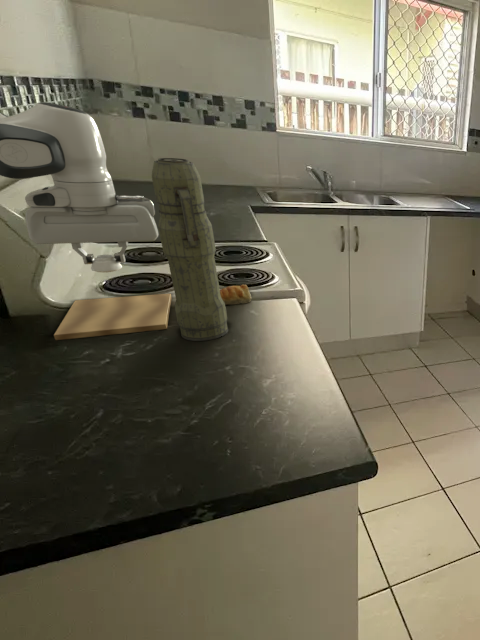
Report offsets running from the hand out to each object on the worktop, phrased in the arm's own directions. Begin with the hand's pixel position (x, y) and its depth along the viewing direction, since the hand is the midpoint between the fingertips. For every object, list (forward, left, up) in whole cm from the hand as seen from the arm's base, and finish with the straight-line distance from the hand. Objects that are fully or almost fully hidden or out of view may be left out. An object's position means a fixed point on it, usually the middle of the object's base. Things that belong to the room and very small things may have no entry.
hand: (105, 262), depth 99 cm
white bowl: (0, 0, -2) cm, 2 cm away
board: (0, 0, -12) cm, 12 cm away
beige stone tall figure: (+16, -14, -13) cm, 24 cm away
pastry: (+22, +4, -13) cm, 26 cm away
